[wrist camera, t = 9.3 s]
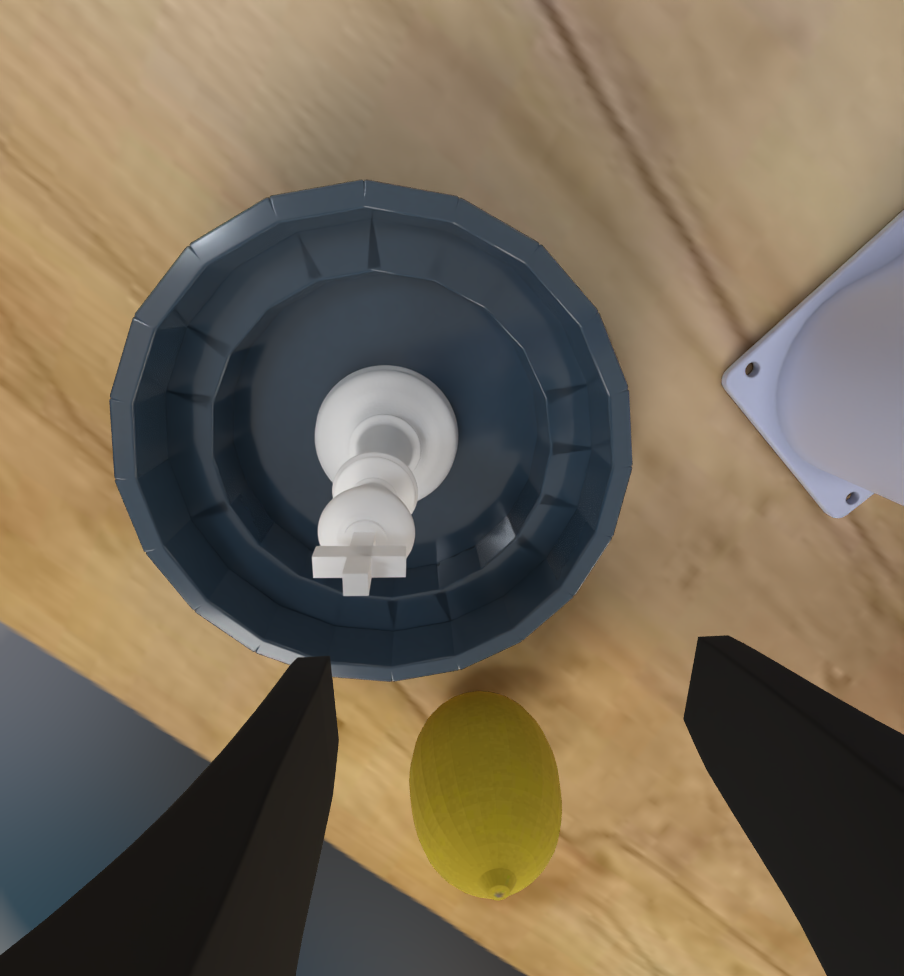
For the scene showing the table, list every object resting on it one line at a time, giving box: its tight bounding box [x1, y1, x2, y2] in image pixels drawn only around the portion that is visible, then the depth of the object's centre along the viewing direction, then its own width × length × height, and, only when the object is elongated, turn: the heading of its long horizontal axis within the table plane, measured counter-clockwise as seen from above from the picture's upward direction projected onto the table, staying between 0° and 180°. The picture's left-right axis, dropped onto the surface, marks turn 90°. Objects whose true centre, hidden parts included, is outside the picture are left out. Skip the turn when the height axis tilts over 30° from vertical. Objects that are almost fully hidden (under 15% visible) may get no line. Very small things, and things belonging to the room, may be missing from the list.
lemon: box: [409, 691, 562, 900], centre depth 20 cm, size 6×6×8 cm
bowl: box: [109, 180, 632, 682], centre depth 17 cm, size 14×14×5 cm
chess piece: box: [312, 365, 458, 596], centre depth 14 cm, size 5×5×10 cm
